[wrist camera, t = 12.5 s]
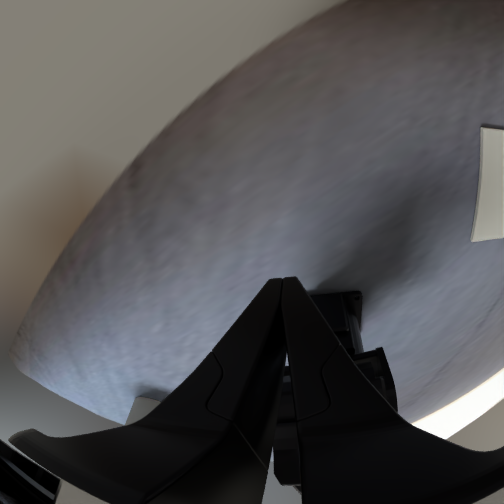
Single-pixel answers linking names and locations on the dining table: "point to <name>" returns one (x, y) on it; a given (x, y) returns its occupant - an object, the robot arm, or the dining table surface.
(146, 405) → the white bumpy block
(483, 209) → the felt mat
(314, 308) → the robot arm
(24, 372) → the dining table surface
